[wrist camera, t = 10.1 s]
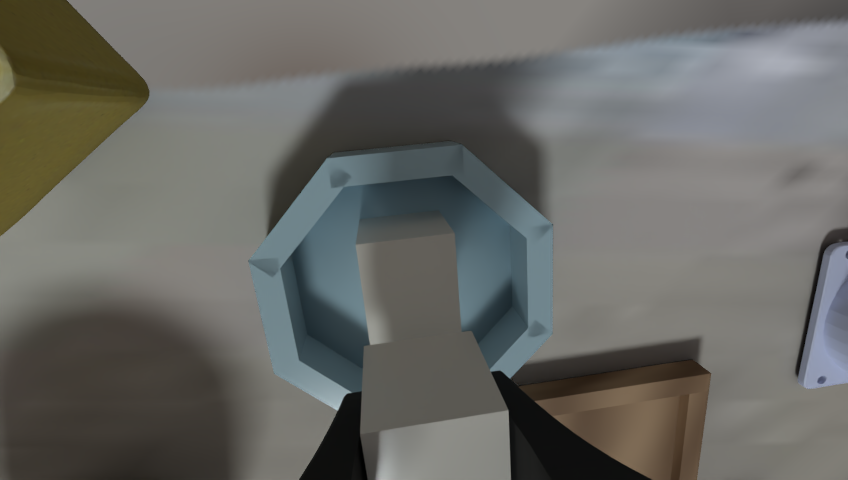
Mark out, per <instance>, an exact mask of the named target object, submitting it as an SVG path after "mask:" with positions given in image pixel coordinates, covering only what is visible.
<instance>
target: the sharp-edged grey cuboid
mask: <svg viewBox="0 0 848 480" xmlns="http://www.w3.org/2000/svg"><path fill="white" fill-rule="evenodd" d="M360 437H361V443H362V449H363V455H364V461H365V467H366V473H367V479H368V480H511V466H510V438H509V411H508V408H507V406H506V404H505V402H504V400H503V397H502V395H501V393H500V391H499V389H498V387H497V384H496V382H495V380H494V378H493V376H492V374H491V372H490V369H489V367H488V365H487V363H486V361H485V359H484V356H483V354H482V352H481V350H480V348H479V346H478V344H477V341H476V339H475V337H474V335H473V333H472V331H465V332H458V333H451V334H444V335H437V336H430V337H423V338H416V339H409V340H402V341H395V342H388V343H381V344H374V345H367V346H364V353H363V377H362V401H361V424H360Z"/></svg>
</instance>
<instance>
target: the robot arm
mask: <svg viewBox="0 0 848 480" xmlns="http://www.w3.org/2000/svg"><path fill="white" fill-rule="evenodd" d="M491 374H492V376H493V378H494V380H495V382H496V384H497V387H498V389H499V391H500V393H501V395H502V397H503V400H504V402H505V404H506V406H507V408H508V411H509V438H510V466H511V480H652V479H650V478H648V477H646V476H644V475H643V474H641V473H639V472H637V471H635V470H633V469H631V468H629V467H628V466H626V465H624V464H622V463H620V462H619V461H617V460H615V459H614V458H612V457H610V456H609V455H607V454H605V453H604V452H602V451H601V450H599V449H598V448H596V447H594V446H593V445H591V444H590V443H588V442H587V441H585V440H584V439H582V438H581V437H579V436H578V435H576V434H575V433H574V432H572V431H571V430H570V429H568V428H567V427H566V426H564V425H563V424H562V423H560V422H559V421H558V420H557V419H555V418H554V417H553V416H552V415H550V414H549V413H548V412H547V411H546V410H544V409H543V408H542V407H541V406H540V405H538V404H537V403H536V402H535V401H534V400H533V399H531V398H530V397H529V396H528V395H527V394H526V393H525V392H524V391H523V390H521V389H520V388H519V387H518V386H517V385H516V384H515V383H514V382H513V381H512V380H511V379H510V378H508V377H507V376H506V375H505V374H504V373H503V372H502V371H500V370H499V371H492V372H491ZM798 383H799V384H800V385H802V386H803V387H805V388H807V389H812V388H818V387H824V386H831V385H837V384H843V383H848V241H847V242H840V243H834V244H831V245H830V246H828V247H827V248H826V250H825V252H824V255H823V259H822V264H821V269H820V274H819V279H818V283H817V288H816V293H815V298H814V303H813V308H812V312H811V317H810V322H809V327H808V332H807V337H806V341H805V346H804V351H803V356H802V361H801V365H800V370H799V375H798ZM361 401H362V391H360V392H353V393H347V394H346V395H345V396H344V398H343V400H342V402H341V405H340V407H339V409H338V412H337V414H336V416H335V418H334V420H333V422H332V424H331V426H330V428H329V430H328V432H327V434H326V435H325V437H324V439H323V441H322V443H321V444H320V446H319V448H318V450H317V452H316V453H315V455H314V457H313V458H312V460H311V461H310V463H309V465H308V466H307V468H306V469H305V471H304V473H303V474H302V476H301V477H300V479H299V480H368V479H367V473H366V467H365V461H364V455H363V449H362V443H361V437H360V424H361Z"/></svg>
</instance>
